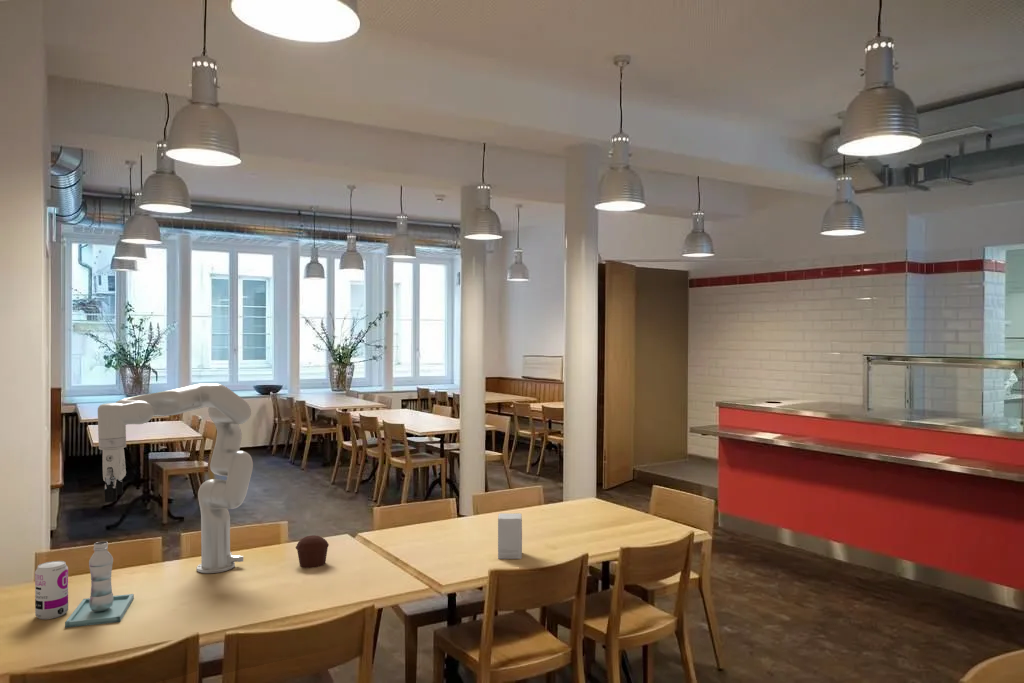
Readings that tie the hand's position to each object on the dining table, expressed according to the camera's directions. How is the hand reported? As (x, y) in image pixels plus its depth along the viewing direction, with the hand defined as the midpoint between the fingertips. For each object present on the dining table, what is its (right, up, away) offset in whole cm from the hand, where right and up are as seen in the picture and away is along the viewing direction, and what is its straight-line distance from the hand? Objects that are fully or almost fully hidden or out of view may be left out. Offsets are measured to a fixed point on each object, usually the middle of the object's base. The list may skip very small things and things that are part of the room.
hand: (114, 498), depth 227 cm
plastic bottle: (+1, -32, -9) cm, 33 cm away
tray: (+1, -32, -9) cm, 33 cm away
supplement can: (-13, -33, -11) cm, 37 cm away
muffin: (+51, -32, +37) cm, 71 cm away
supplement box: (+123, -32, +46) cm, 135 cm away
